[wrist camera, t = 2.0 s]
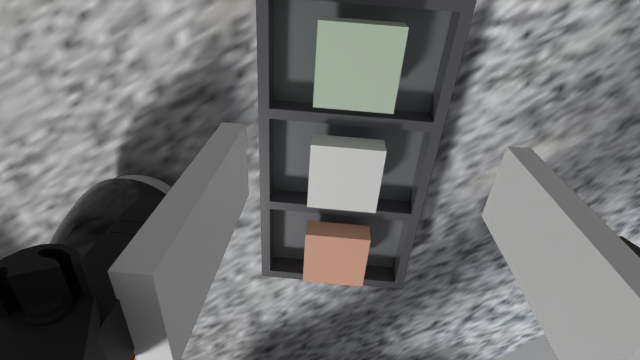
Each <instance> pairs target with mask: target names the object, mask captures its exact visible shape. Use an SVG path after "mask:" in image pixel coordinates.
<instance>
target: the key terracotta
mask: <svg viewBox="0 0 640 360" xmlns="http://www.w3.org/2000/svg"><path fill="white" fill-rule="evenodd" d="M370 242H371V238H370V227H369V226H364V225H353V224H342V223H331V222H320V221H308V220H307V227H306V234H305V250H304V268H303V281H307V282H318V283H329V284H340V285H351V286H361V287H362V286H363V281H364V275H365V269H366V264H367V258H368V253H369V247H370Z"/></svg>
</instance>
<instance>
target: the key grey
mask: <svg viewBox="0 0 640 360" xmlns="http://www.w3.org/2000/svg"><path fill="white" fill-rule="evenodd" d="M386 153H387V151H386V146H385V141H384V140H378V139H366V138H354V137H343V136H331V135H319V134H313V135H312V140H311V148H310V165H309V182H308V199H307V207H313V208H324V209H335V210H346V211H358V212H369V213H376V208H377V203H378V197H379V192H380V186H381V180H382V175H383V169H384V164H385V158H386Z"/></svg>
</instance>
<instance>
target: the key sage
mask: <svg viewBox="0 0 640 360" xmlns="http://www.w3.org/2000/svg"><path fill="white" fill-rule="evenodd" d="M408 30H409V27H408V26H407V25H406V24H405V23H402V22H390V21H377V20H365V19H352V18H340V17H327V16H320V17H319V19H318V27H317V45H316V62H315V79H314V96H313V107H316V108H328V109H340V110H352V111H364V112H376V113H388V114H394V108H395V102H396V97H397V91H398V86H399V80H400V75H401V69H402V64H403V58H404V52H405V47H406V41H407V36H408Z"/></svg>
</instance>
